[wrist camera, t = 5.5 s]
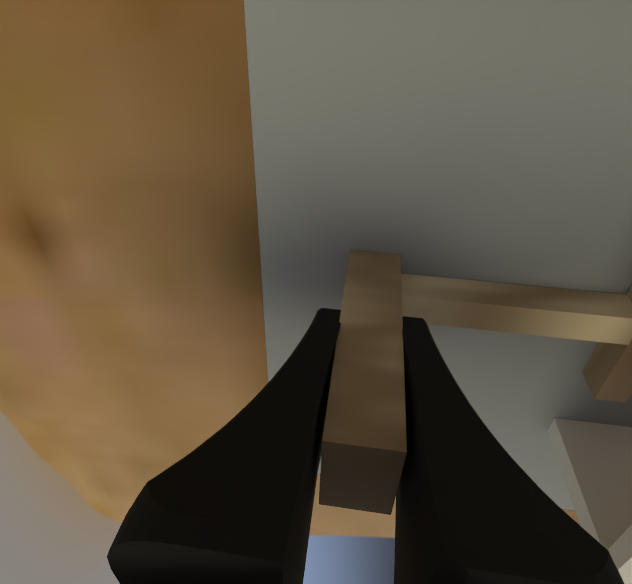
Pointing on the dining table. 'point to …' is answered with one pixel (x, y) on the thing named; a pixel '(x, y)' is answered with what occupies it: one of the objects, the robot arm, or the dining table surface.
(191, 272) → the dining table surface
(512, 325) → the rake
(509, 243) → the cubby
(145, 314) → the dining table surface
